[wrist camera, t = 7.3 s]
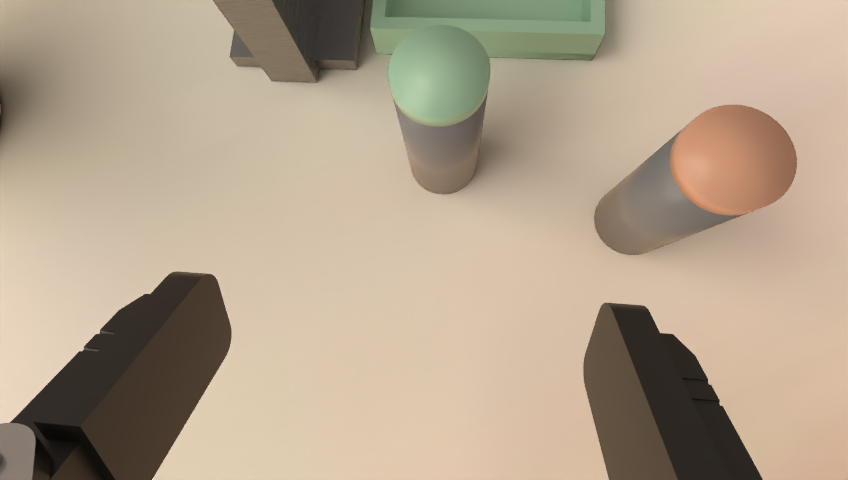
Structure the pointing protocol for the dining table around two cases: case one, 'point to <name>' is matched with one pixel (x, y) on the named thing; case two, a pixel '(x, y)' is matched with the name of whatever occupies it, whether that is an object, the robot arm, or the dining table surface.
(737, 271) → the dining table surface
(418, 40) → the green-capped canister
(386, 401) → the dining table surface
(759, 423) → the dining table surface
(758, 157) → the terracotta-capped canister
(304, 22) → the label unit
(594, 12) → the green tray
